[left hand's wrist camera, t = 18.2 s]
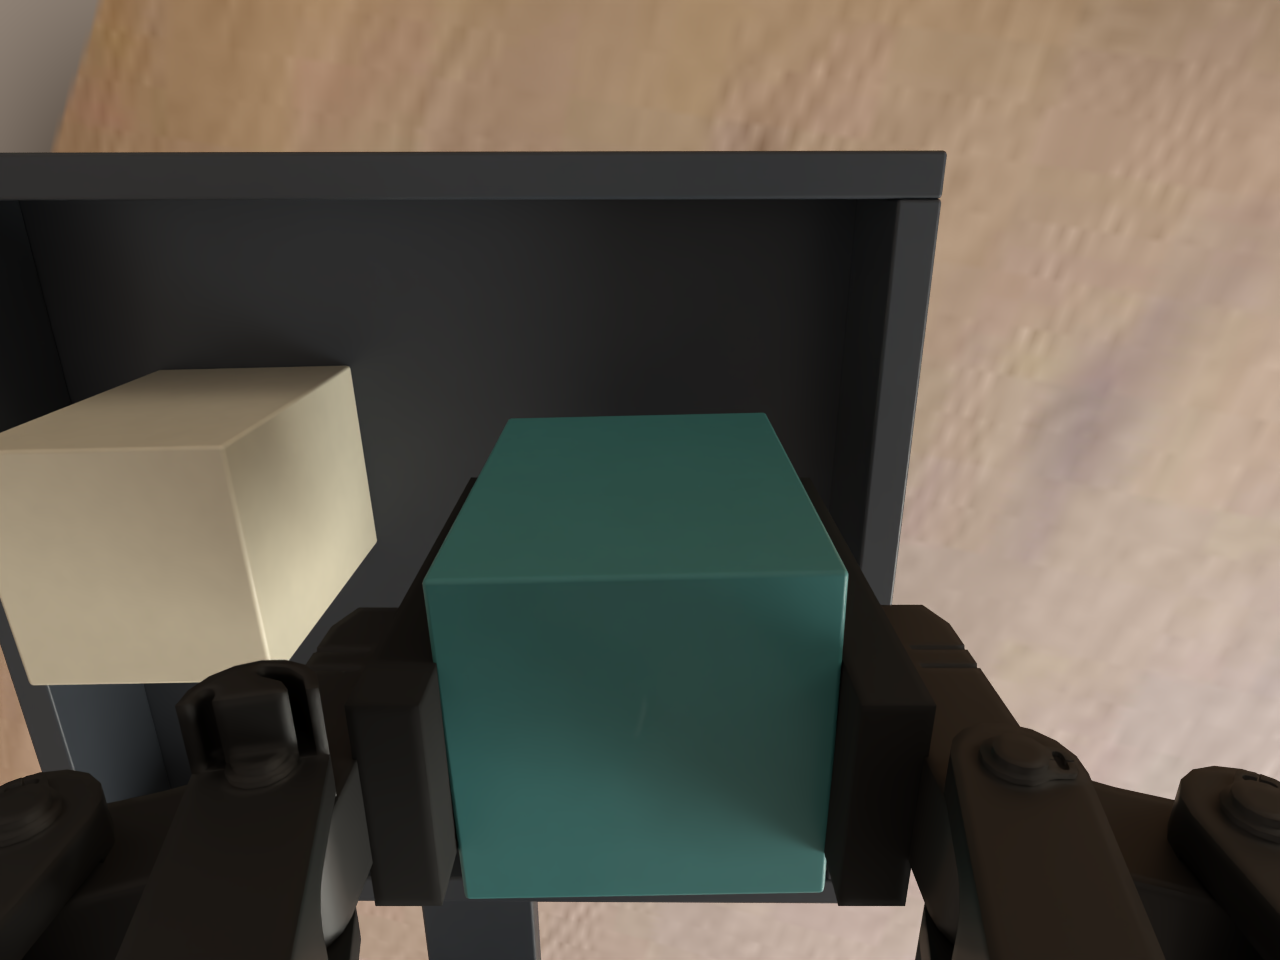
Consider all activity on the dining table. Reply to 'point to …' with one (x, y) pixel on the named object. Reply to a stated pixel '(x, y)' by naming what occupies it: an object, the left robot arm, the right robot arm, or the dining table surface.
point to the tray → (472, 349)
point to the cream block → (181, 523)
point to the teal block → (638, 661)
